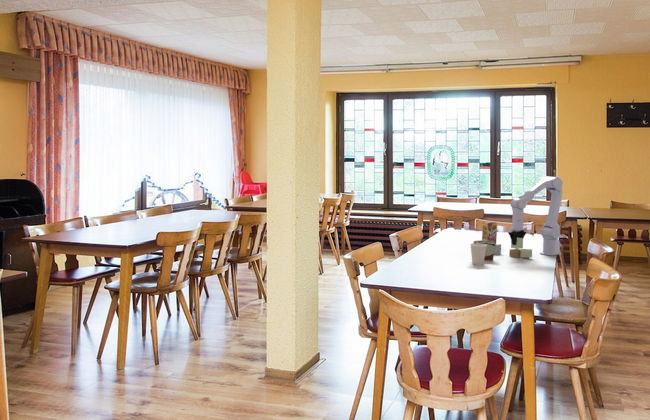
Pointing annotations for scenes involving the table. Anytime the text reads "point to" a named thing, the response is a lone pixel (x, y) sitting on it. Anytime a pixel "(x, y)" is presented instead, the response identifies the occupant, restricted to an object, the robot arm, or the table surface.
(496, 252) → the slate block
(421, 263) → the table surface
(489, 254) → the food container
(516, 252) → the walnut plinth
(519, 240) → the sage block
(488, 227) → the candy box
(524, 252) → the pale green block
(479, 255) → the dixie cup
